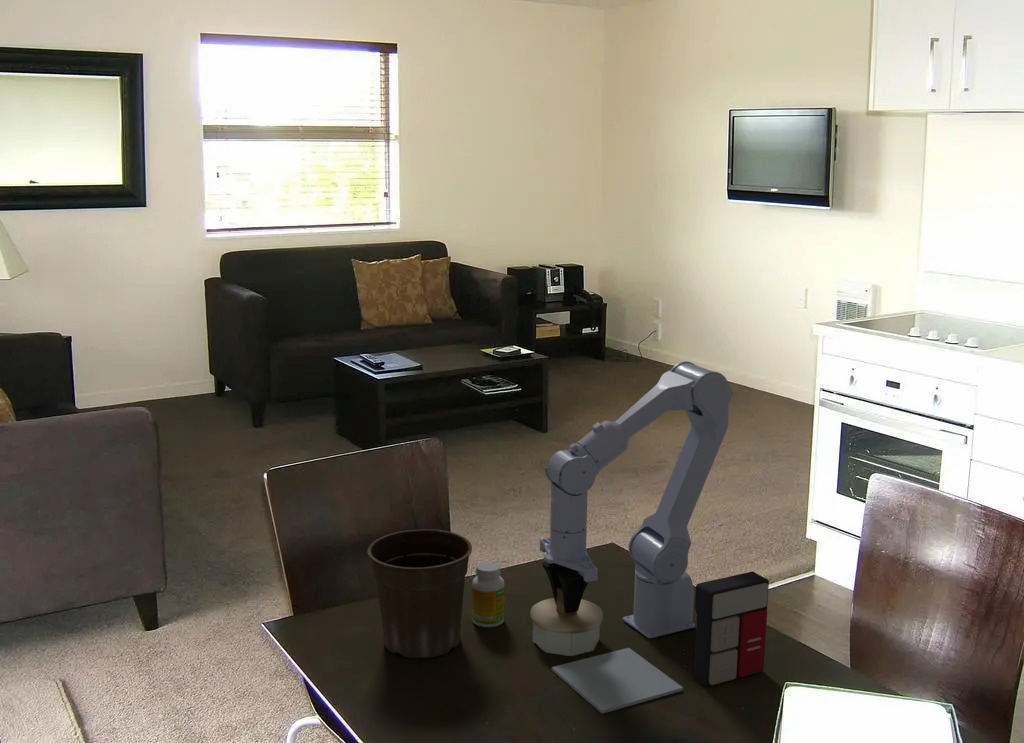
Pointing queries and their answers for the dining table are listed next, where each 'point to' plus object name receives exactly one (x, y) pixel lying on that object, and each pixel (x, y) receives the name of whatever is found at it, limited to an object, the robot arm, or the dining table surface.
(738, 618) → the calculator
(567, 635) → the bowl
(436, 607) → the plant pot
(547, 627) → the lid
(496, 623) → the supplement bottle
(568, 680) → the mat
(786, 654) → the dining table surface
